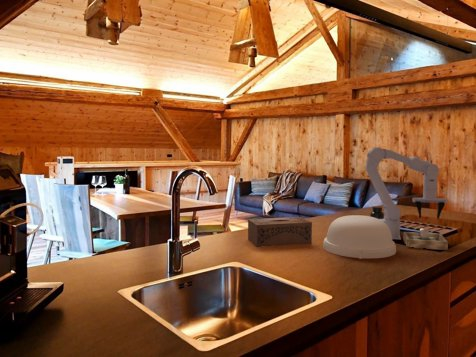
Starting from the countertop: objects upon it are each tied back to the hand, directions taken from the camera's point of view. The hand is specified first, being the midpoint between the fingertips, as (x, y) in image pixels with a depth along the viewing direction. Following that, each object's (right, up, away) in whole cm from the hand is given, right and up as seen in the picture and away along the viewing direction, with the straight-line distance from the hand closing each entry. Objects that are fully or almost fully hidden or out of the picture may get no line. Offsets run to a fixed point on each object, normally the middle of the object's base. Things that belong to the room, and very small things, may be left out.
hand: (429, 217), depth 191 cm
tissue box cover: (-71, -11, -4) cm, 72 cm away
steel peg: (-6, -11, -9) cm, 16 cm away
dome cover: (-38, -12, -16) cm, 43 cm away
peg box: (-7, -11, -9) cm, 16 cm away
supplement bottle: (-17, -9, +23) cm, 30 cm away
